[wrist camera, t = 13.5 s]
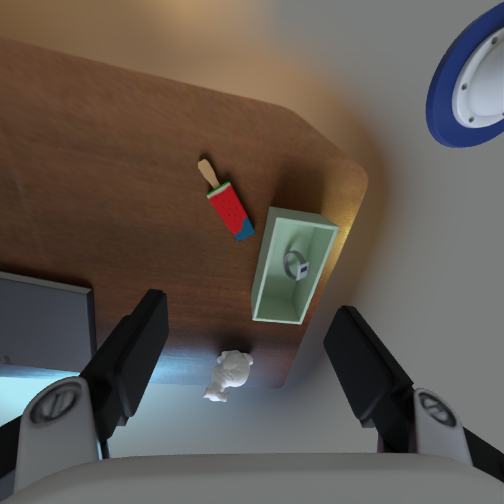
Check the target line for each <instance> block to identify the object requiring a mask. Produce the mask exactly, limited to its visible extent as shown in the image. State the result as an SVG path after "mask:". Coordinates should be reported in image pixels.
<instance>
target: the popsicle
mask: <svg viewBox="0 0 504 504" xmlns="http://www.w3.org/2000/svg"><path fill="white" fill-rule="evenodd" d="M198 167H199V169H200V171H201V172H202V174H203V175H204V177H205V178H206V179H207V180H208V181H209V182H210V184H211V185H212V187H213V188H214V190H212V191H211V192H209V193H208V194H207V197H208V199H209V200H210V202H211V203H212V205H213V206H214V207H215V209H216V210H217V212H218V213H219V215H220V216H221V217H222V219H223V220H224V222H225V223H226V225H227V226H228V228H229V229H230V230H231V232H232V233H233V235H234V236H235V238H236V239H237V240H238V241H241V240H243V239H245V238H246V237H248V236H250V235H252V234H254V233H255V230H254V227H253V225H252V223H251V221H250V220H249V218H248V216H247V214H246V212H245V210H244V208H243V206H242V204H241V202H240V200H239V199H238V197H237V195H236V193H235V191H234V189H233V187H232V185H231V183H230V182H229V181H227V182H225V183H224V184H222V185H220V184H219V182H218V180H217V179H216V176H215V173H214V170H213V168H212V167H211V165H210V163H209V162H208V161H207V160H206V159H203V160H202V161H200V162H199V163H198Z"/></svg>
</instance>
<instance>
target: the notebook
mask: <svg viewBox="0 0 504 504" xmlns="http://www.w3.org/2000/svg"><path fill="white" fill-rule="evenodd" d="M96 352H97V351H96V334H95V317H94V299H93V288H89V287H83V286H78V285H73V284H68V283H63V282H58V281H53V280H47V279H42V278H37V277H32V276H27V275H22V274H17V273H11V272H6V271H1V270H0V363H2V364H9V365H19V366H28V367H36V368H45V369H53V370H62V371H71V372H79V373H81V372H82V371H83V369H84V368H85V367H86V365H87V364H88V363H89V362H90V360H91V359H92V358H93V356H94V355H95V354H96Z"/></svg>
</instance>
